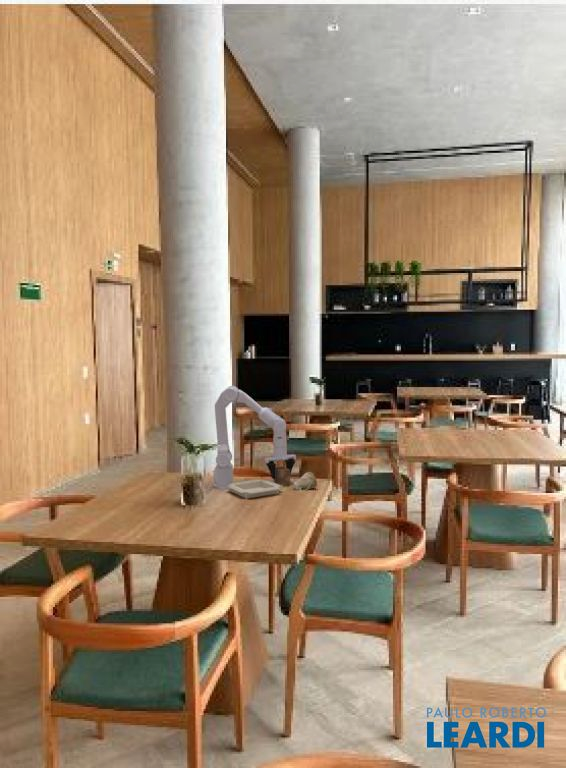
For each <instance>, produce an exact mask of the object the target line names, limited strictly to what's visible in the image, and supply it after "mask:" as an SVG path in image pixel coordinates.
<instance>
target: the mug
mask: <svg viewBox="0 0 566 768" xmlns="http://www.w3.org/2000/svg"><path fill="white" fill-rule="evenodd" d="M292 484H293V485H292V486H293V488H294V490H297V491H300V492H307V491H309V490H312V489H314V488H316V487H317V486H318V480H317V478H316V477H315V475H314V473H313V472H312V471H307V472H305V473H304V474H303V475H302V476H301V477H300V478H299V479H298V480H297V479H296V481H294V482H293V483H292Z"/></svg>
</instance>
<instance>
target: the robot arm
mask: <svg viewBox="0 0 566 768" xmlns="http://www.w3.org/2000/svg"><path fill="white" fill-rule="evenodd" d="M235 401H236V402H237V403H243V404H245V405H246V406H247V407H248V408H251V409H252V411H254V412H256V414H258V415H257V416H258V419H260V420H261V421H262V422H263V423H265V424H266V425H267V426H269V427H271V428H272V430H273V438H272V439H273V442H272V443H273V456H269V457H264V463H265V465H266V467H267V468H268V470H269V473H270V476H271V479H273V480H274V479H275V468H276V467H277V464H276V462H282V461H284V462H285V468H287V469H289V470H290V477H291V476H292V475H291V474H292V470H293V467H294V465H295V463H296V460H297V455H296V454H288V452H287V451H288V449H287V448H288V445H287V444H288V442H287V431H286V430H287V424H286V421H285V419H284V418H282V417H281V416H280V415H277V413H274V411H273V409H272V408H271V407H269V408H268V407H262V406H261V405H260V404H259V403H257V402H256V401H255V400H254V399H253V398H252V397H251V396H249V395H248V394H247V393H246V392H244V391H243V390H242V389H239V388H238V387H237V386H234V385H230V386H227V388H224V390H223V391H221V393H220V394H219V396H218V398H217V400H216V402H215V403H214V417H215V428H216V430H215V431H216V438H217V439H216V440H217V455H216V458H215V462H216V465H215V467H214V469H213V483H212V484H211V485H212V486H214V487H216V488H217V489H230V488H229V487H226V486H227V485H229V483H234V467H233V464H232V463H231V462H232V460H233V454H232V452H231V450H230V449H231V448H230V445H229V434H228V422H227V419H228V418H227V411H226V410H227V409H226V408H227V407H228V406H229V405H230V404H232V403H234V402H235ZM218 445H220V447H218Z"/></svg>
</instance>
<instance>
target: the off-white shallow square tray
mask: <svg viewBox="0 0 566 768" xmlns="http://www.w3.org/2000/svg"><path fill="white" fill-rule="evenodd" d="M226 487H229V488H228V489H230V492H232V493H234V494H236V495H238V496H240V497H242V498H244V499H247V500H248V499H252V498H258V497H259V498H260V497H263V496H264V497H265V496H271V495H277V494H280V490H282V488H284V487H283V486H281V485H279V484H276V483H274V481H271V480H268V479H262V480H261V479H259V478H257V479H249V480H243V481H237V482H233V483H229V485H227V486H226Z"/></svg>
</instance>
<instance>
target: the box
mask: <svg viewBox="0 0 566 768" xmlns="http://www.w3.org/2000/svg"><path fill="white" fill-rule="evenodd" d="M273 482H274V483H276V484H279V485H281V486H283V487H282V488H284V487H291V485H290V483H291V476H290V470H289V469H287V468H286V466H285V467H284V466H276V468H275V479H273Z"/></svg>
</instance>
